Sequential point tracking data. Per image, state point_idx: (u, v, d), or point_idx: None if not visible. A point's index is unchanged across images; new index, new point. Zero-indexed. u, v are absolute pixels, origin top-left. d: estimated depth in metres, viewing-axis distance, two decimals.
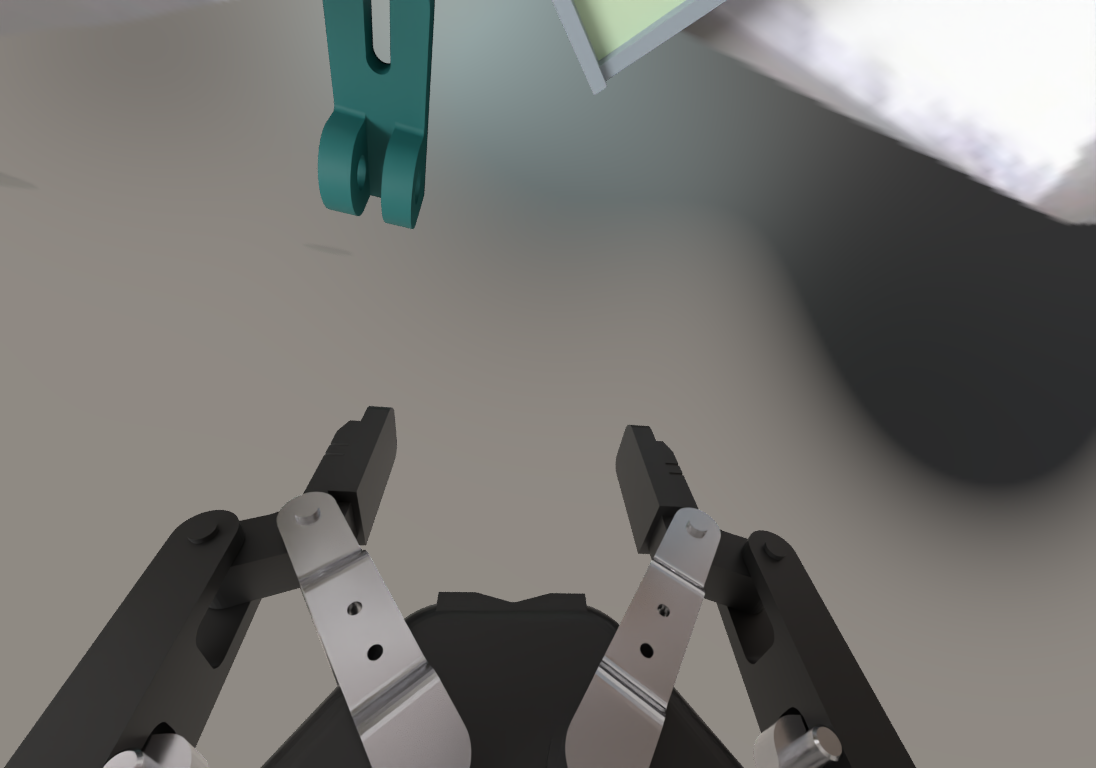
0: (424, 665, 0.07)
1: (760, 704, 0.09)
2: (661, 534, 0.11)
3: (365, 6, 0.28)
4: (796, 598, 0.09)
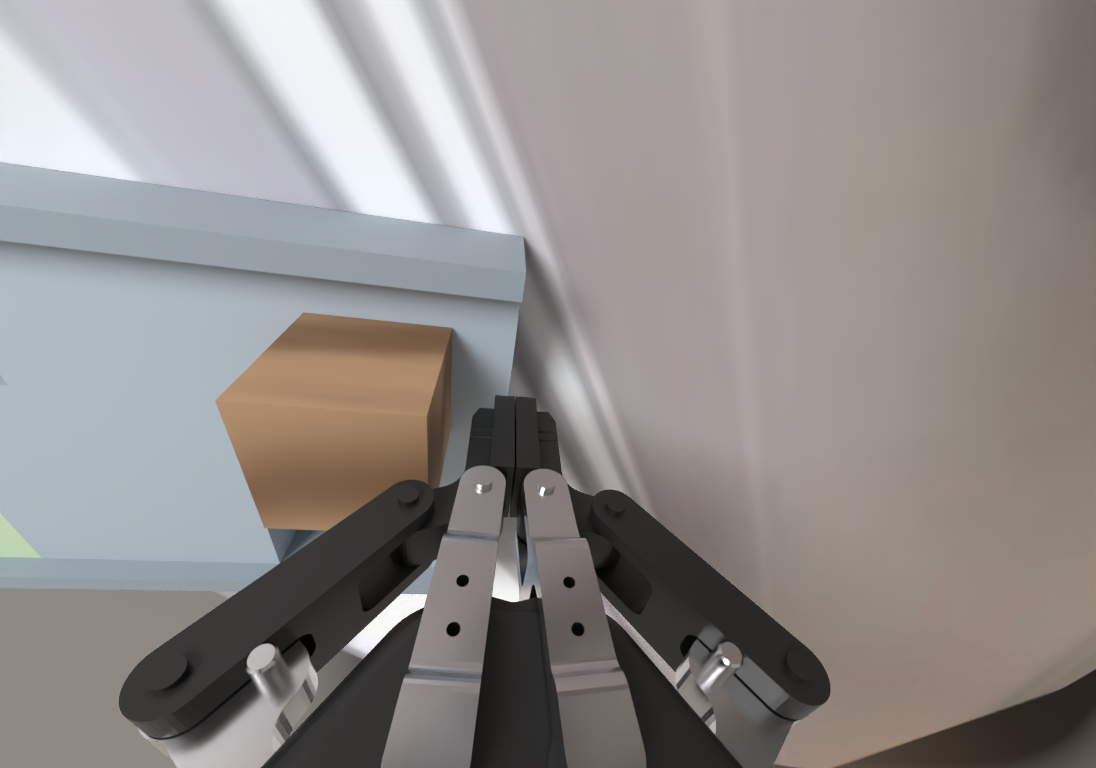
0: (477, 674, 0.07)
1: (659, 643, 0.10)
2: (520, 495, 0.12)
3: None
4: (651, 541, 0.10)
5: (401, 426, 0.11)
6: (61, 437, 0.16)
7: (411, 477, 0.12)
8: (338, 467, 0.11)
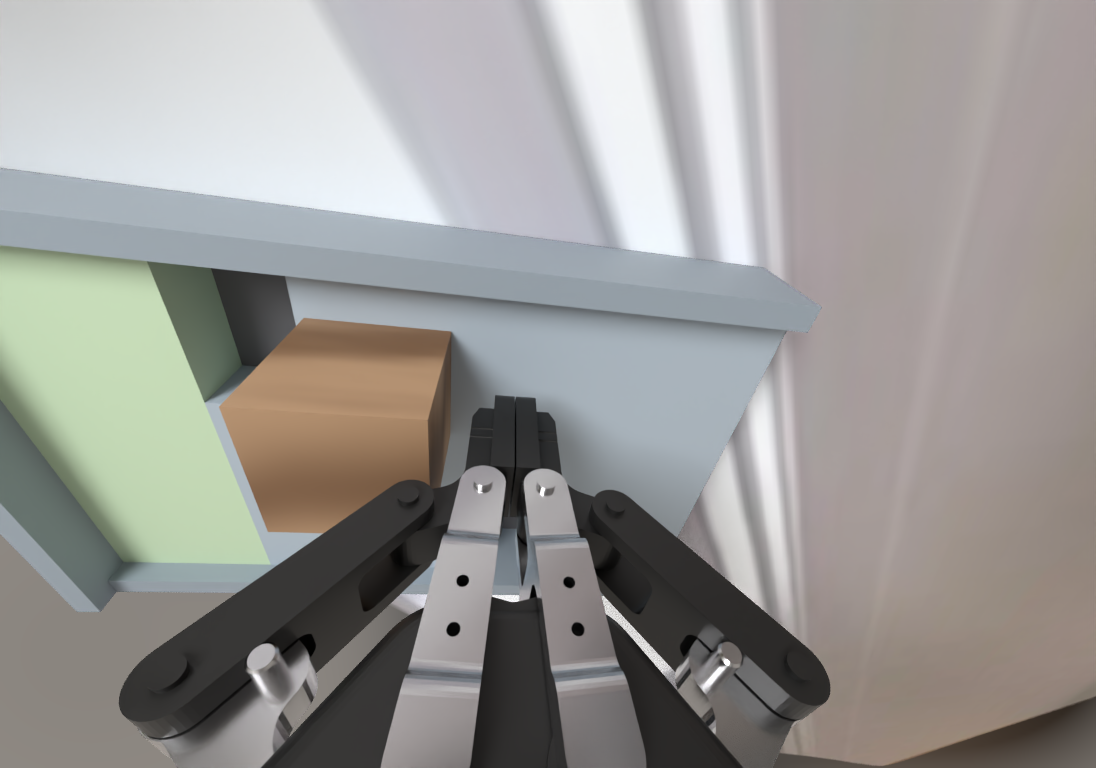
0: (477, 674, 0.07)
1: (658, 643, 0.10)
2: (520, 495, 0.12)
3: None
4: (651, 540, 0.10)
5: (402, 429, 0.11)
6: None
7: None
8: (341, 470, 0.12)
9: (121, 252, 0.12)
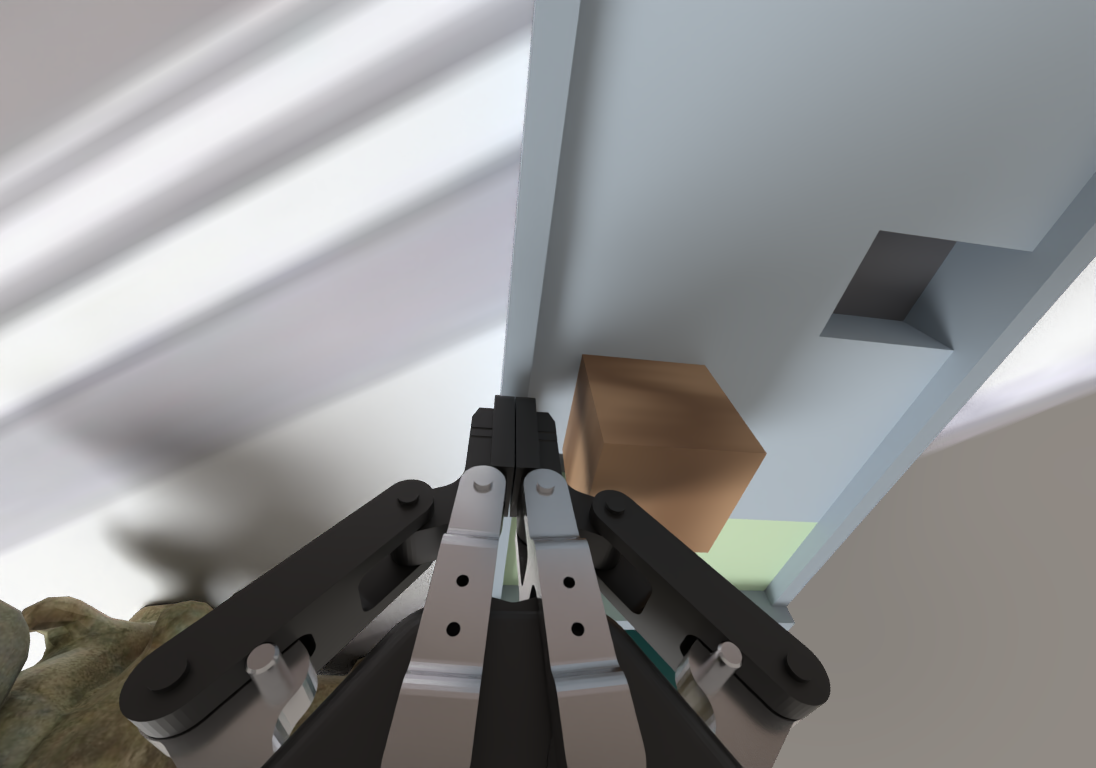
0: (477, 674, 0.07)
1: (658, 643, 0.10)
2: (520, 495, 0.12)
3: None
4: (650, 540, 0.10)
5: (612, 460, 0.12)
6: None
7: (677, 459, 0.12)
8: (650, 502, 0.13)
9: (507, 522, 0.20)
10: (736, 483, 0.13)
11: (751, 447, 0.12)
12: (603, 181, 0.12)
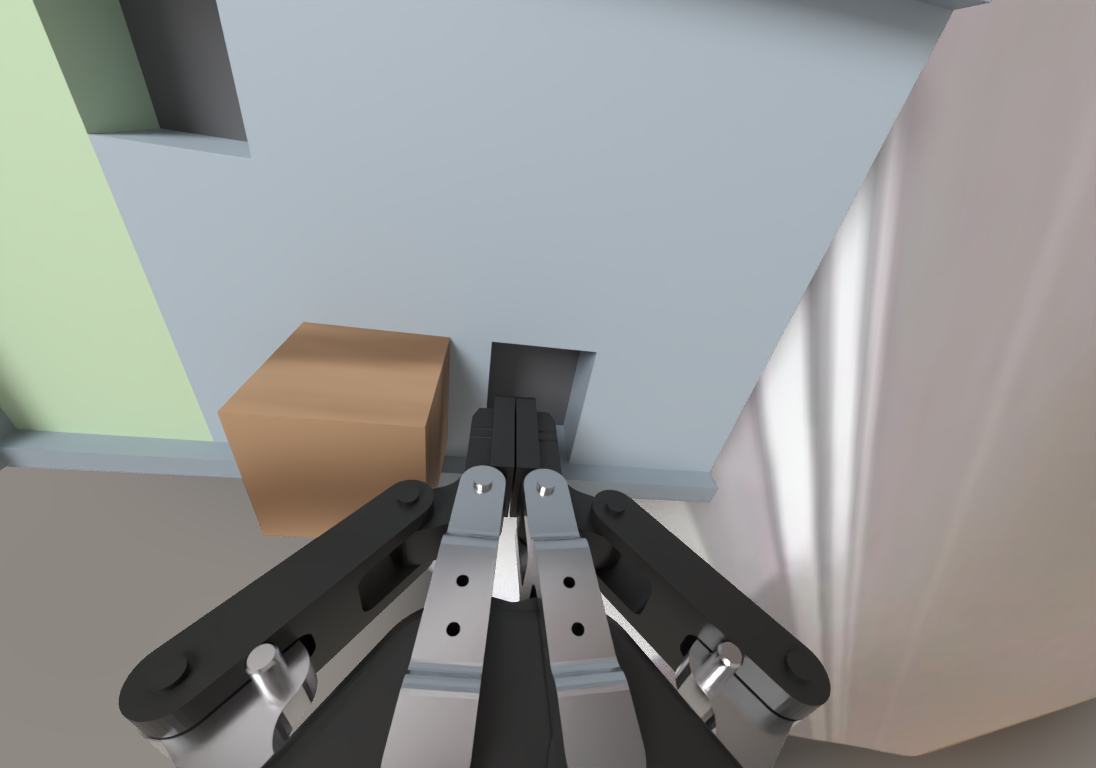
0: (477, 674, 0.07)
1: (659, 643, 0.10)
2: (520, 495, 0.12)
3: None
4: (651, 540, 0.10)
5: (400, 436, 0.11)
6: (291, 250, 0.13)
7: None
8: (338, 476, 0.12)
9: None
10: None
11: None
12: (687, 31, 0.10)
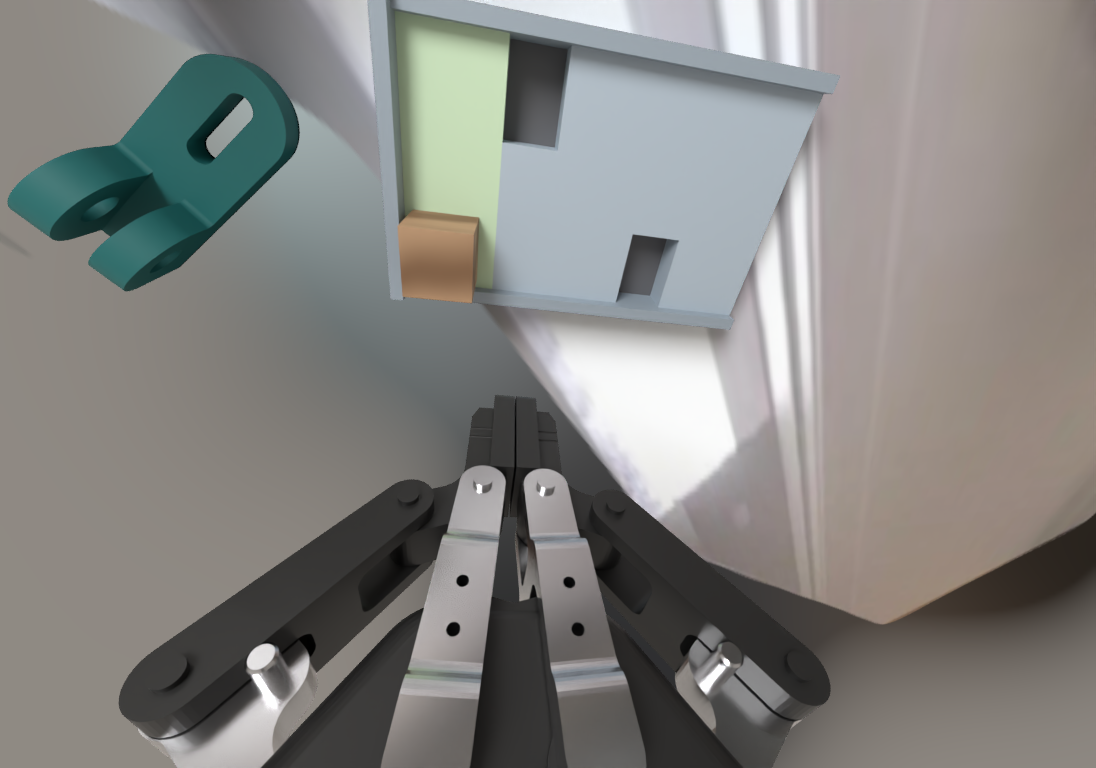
0: (477, 674, 0.07)
1: (659, 643, 0.10)
2: (520, 495, 0.12)
3: (216, 113, 0.28)
4: (651, 540, 0.10)
5: (463, 239, 0.28)
6: (560, 189, 0.31)
7: (466, 267, 0.29)
8: (437, 261, 0.29)
9: (514, 27, 0.25)
10: (453, 296, 0.30)
11: (472, 297, 0.31)
12: (726, 103, 0.29)
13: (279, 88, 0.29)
